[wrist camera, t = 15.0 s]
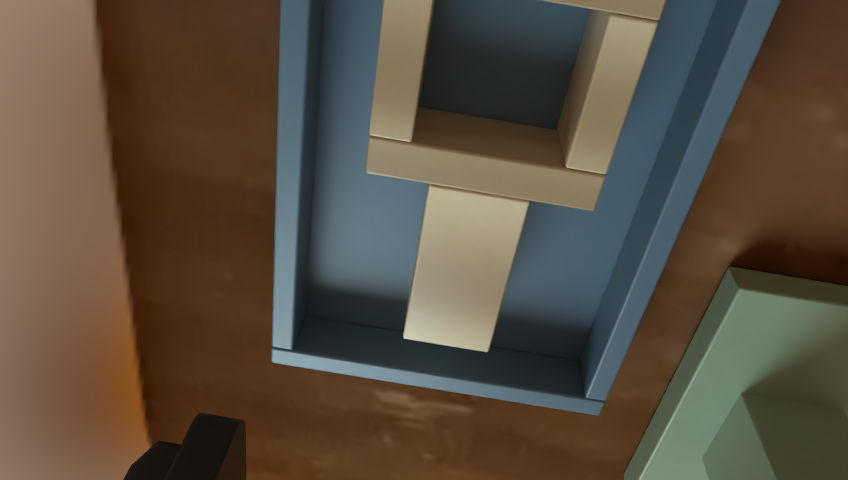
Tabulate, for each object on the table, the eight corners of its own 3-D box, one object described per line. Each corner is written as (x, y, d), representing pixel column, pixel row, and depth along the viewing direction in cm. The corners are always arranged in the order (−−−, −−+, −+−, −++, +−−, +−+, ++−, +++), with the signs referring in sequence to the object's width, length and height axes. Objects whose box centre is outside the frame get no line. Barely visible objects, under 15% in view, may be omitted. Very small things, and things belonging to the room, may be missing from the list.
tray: (317, -350, 11) (288, -373, 10) (838, -254, 12) (897, -262, 10) (288, 316, 20) (270, 363, 18) (590, 365, 20) (599, 417, 19)
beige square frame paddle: (403, -97, 13) (391, -81, 11) (654, -53, 13) (677, -31, 12) (359, 282, 18) (347, 330, 17) (537, 311, 19) (542, 362, 17)
